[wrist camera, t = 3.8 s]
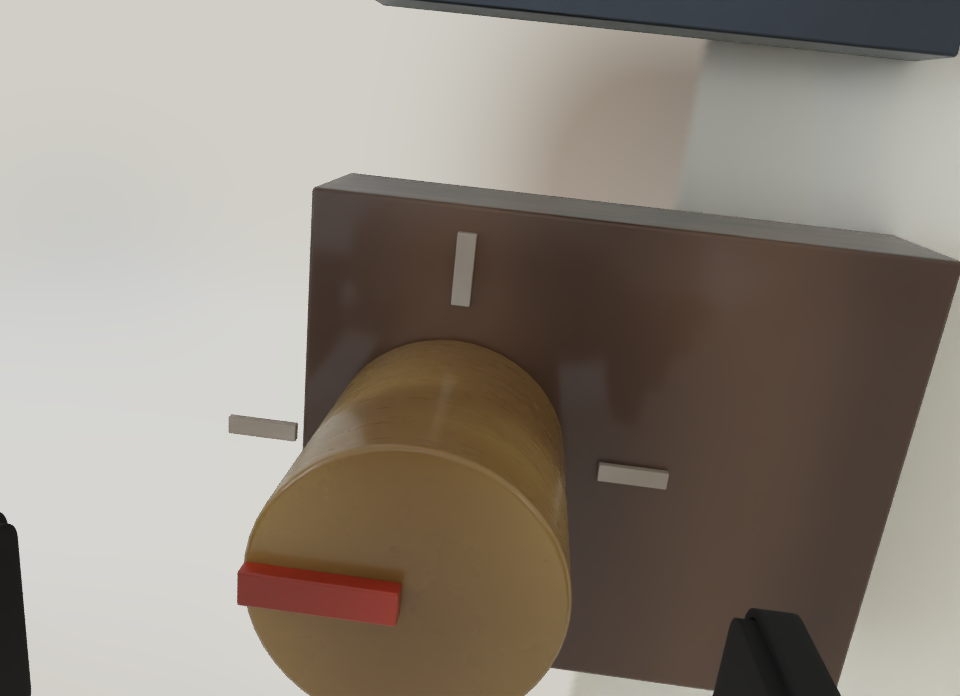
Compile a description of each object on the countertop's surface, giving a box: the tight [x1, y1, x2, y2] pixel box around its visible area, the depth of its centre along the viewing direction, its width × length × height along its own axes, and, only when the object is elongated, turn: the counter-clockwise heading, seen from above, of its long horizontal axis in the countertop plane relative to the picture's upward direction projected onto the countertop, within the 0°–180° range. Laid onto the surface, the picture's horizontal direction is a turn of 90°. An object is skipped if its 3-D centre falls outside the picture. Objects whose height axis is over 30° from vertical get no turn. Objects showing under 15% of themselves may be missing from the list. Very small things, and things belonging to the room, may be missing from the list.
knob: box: [237, 340, 572, 696], centre depth 14 cm, size 5×5×5 cm
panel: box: [229, 173, 960, 691], centre depth 17 cm, size 14×10×3 cm
